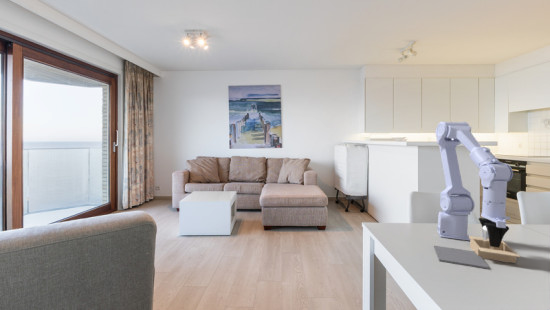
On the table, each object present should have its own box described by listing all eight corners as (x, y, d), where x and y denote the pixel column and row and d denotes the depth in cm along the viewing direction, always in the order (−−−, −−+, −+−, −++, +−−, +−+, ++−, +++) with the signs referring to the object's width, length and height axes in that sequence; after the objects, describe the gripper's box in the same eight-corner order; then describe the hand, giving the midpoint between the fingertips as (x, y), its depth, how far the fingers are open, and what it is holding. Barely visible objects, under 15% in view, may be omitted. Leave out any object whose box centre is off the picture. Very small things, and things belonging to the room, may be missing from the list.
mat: (439, 260, 79) (439, 259, 79) (433, 246, 90) (433, 245, 90) (489, 269, 74) (489, 267, 74) (477, 253, 85) (477, 251, 85)
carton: (480, 260, 80) (480, 250, 79) (468, 244, 92) (468, 235, 92) (519, 266, 76) (520, 256, 76) (501, 248, 89) (501, 240, 88)
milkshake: (498, 259, 81) (500, 227, 80) (478, 252, 85) (479, 222, 85) (505, 256, 83) (507, 225, 82) (485, 249, 87) (487, 220, 87)
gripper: (520, 208, 75) (517, 254, 76) (501, 198, 88) (499, 238, 89) (489, 205, 78) (487, 250, 79) (475, 196, 91) (474, 235, 92)
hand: (492, 243), depth 84 cm, fingers closed on milkshake, 4 cm apart
